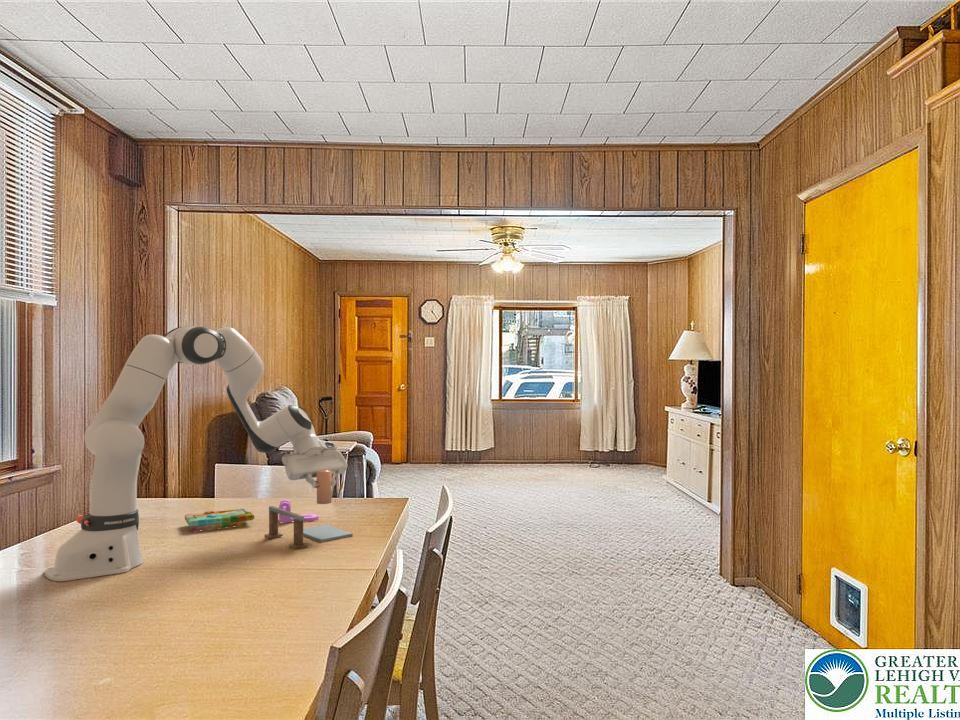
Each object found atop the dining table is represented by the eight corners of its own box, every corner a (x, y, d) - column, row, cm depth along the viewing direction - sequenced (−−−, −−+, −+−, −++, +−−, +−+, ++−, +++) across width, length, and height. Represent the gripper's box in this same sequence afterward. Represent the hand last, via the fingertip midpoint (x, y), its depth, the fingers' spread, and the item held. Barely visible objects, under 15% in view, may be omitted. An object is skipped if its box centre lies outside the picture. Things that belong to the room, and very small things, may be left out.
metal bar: (299, 521, 198) (299, 516, 198) (268, 510, 213) (268, 506, 213) (303, 520, 199) (303, 516, 199) (272, 509, 214) (272, 505, 214)
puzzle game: (184, 512, 227) (247, 506, 236) (184, 526, 227) (247, 519, 236) (189, 519, 216) (254, 512, 226) (189, 534, 216) (254, 526, 226)
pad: (321, 542, 205) (321, 539, 205) (295, 532, 217) (295, 530, 217) (352, 536, 212) (352, 533, 212) (326, 527, 224) (326, 524, 224)
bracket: (279, 523, 230) (279, 503, 230) (279, 520, 235) (279, 499, 235) (318, 521, 233) (318, 501, 233) (318, 517, 239) (318, 497, 239)
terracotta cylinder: (321, 504, 211) (321, 472, 211) (313, 502, 215) (313, 470, 215) (334, 502, 215) (334, 470, 215) (326, 500, 218) (326, 469, 218)
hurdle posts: (295, 549, 197) (295, 521, 197) (264, 536, 212) (264, 510, 212) (307, 546, 200) (308, 519, 200) (276, 534, 214) (276, 509, 214)
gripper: (283, 448, 213) (298, 483, 206) (340, 442, 227) (356, 475, 219) (276, 461, 216) (291, 496, 209) (333, 455, 230) (349, 487, 223)
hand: (325, 485), depth 214 cm, fingers closed on terracotta cylinder, 5 cm apart
